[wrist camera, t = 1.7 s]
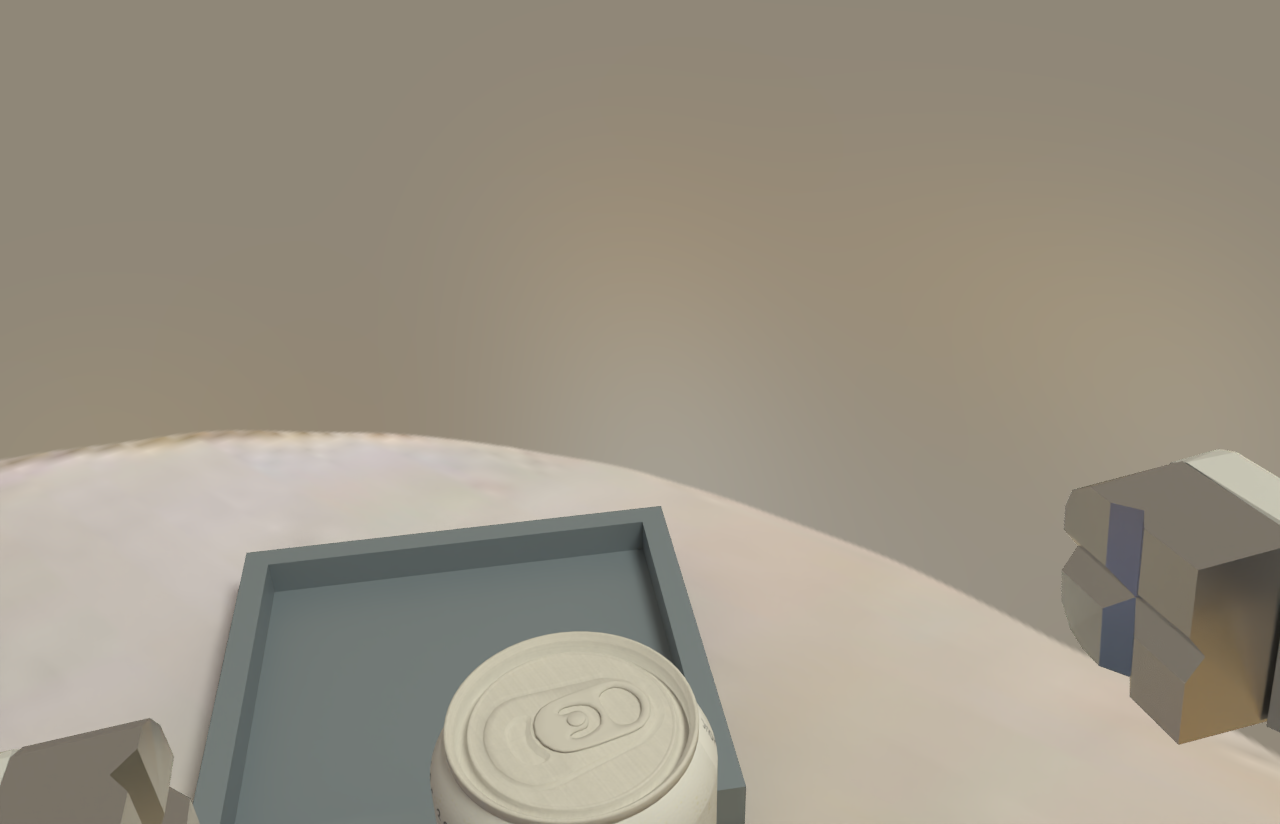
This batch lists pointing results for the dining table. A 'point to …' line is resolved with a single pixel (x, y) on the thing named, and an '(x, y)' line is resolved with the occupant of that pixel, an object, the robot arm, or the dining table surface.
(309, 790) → the tray
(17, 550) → the dining table surface
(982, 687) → the dining table surface
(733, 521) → the dining table surface
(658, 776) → the beer can
